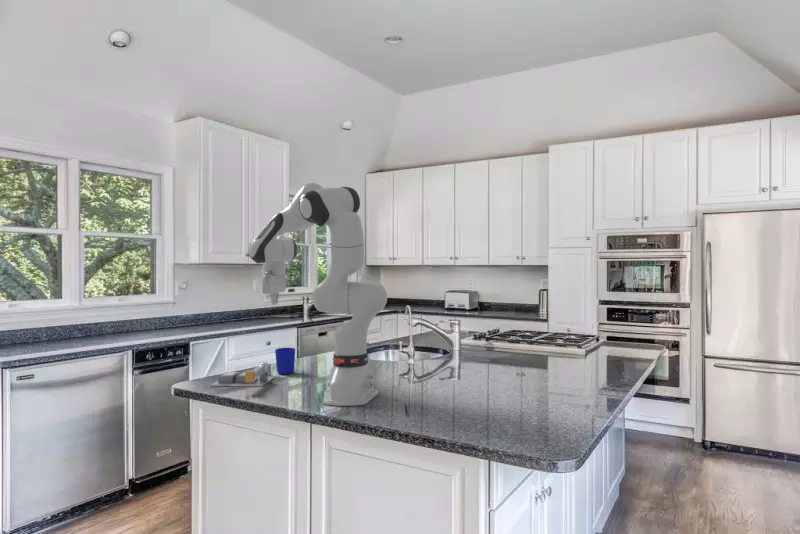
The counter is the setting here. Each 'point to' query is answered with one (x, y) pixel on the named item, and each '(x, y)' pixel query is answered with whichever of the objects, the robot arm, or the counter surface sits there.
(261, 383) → the chassis plate
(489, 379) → the counter surface
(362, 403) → the robot arm
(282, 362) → the mug
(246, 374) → the swing arm
